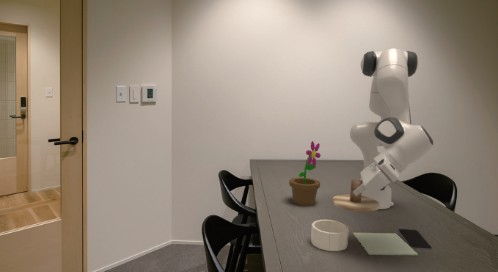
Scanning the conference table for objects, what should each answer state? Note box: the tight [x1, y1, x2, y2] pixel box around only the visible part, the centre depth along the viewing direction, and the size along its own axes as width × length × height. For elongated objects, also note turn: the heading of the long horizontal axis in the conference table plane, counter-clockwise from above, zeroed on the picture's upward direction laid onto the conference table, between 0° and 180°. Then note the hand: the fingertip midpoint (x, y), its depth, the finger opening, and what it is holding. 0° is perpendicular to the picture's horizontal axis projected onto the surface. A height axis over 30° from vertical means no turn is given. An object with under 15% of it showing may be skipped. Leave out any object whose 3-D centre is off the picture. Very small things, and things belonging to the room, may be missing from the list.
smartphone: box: [397, 228, 433, 251], centre depth 121 cm, size 7×1×15 cm
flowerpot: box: [288, 140, 322, 207], centre depth 157 cm, size 14×14×30 cm
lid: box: [332, 179, 380, 213], centre depth 114 cm, size 15×15×8 cm
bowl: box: [310, 219, 350, 252], centre depth 116 cm, size 12×12×6 cm
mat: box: [352, 232, 419, 257], centre depth 117 cm, size 16×16×1 cm
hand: (353, 191), depth 114 cm, fingers closed on lid, 4 cm apart
